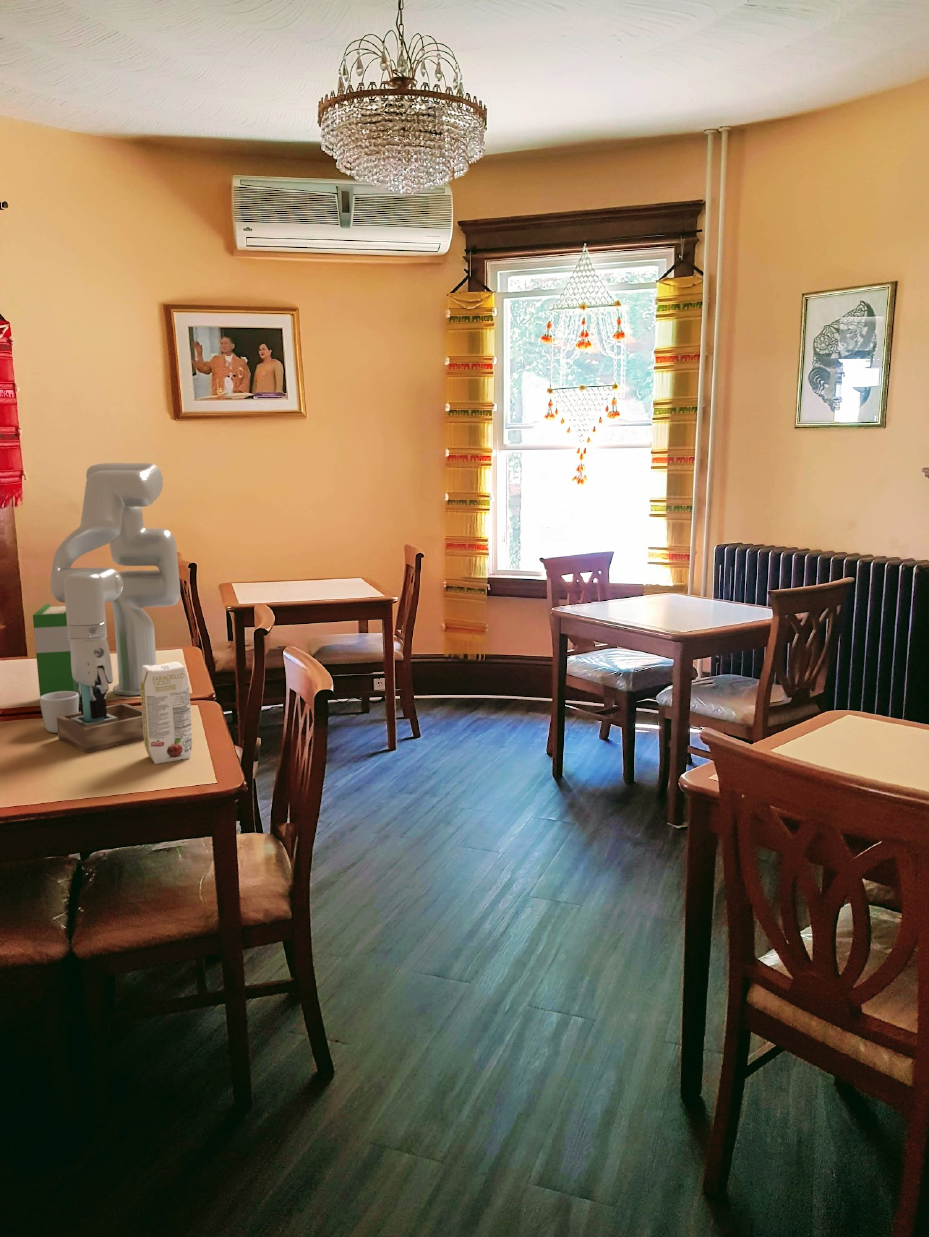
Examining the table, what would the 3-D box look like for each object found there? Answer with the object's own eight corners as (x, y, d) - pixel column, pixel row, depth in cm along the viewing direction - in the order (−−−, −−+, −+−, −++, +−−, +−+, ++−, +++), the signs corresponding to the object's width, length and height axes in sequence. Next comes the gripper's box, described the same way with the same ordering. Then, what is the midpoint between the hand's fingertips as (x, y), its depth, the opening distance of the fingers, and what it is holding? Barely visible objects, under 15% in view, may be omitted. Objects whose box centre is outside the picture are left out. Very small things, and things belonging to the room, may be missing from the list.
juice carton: (195, 758, 174) (190, 666, 171) (151, 766, 170) (145, 672, 167) (185, 748, 181) (180, 659, 177) (142, 756, 176) (136, 664, 173)
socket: (104, 729, 191) (102, 711, 190) (118, 735, 186) (117, 717, 186) (72, 736, 186) (70, 718, 185) (86, 743, 181) (85, 724, 181)
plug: (99, 723, 189) (96, 678, 187) (108, 727, 186) (104, 681, 184) (81, 727, 186) (77, 681, 184) (89, 731, 183) (85, 685, 181)
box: (125, 724, 198) (123, 702, 197) (155, 736, 189) (154, 714, 188) (58, 738, 187) (56, 716, 186) (87, 753, 178) (85, 729, 177)
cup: (31, 727, 196) (28, 693, 194) (67, 720, 201) (64, 687, 200) (51, 737, 188) (48, 702, 187) (87, 729, 194) (84, 695, 193)
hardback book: (53, 696, 223) (46, 604, 219) (85, 694, 225) (77, 602, 221) (41, 714, 206) (32, 615, 202) (75, 712, 208) (67, 613, 204)
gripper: (123, 633, 179) (129, 719, 183) (87, 624, 191) (93, 704, 194) (87, 639, 174) (94, 727, 177) (52, 628, 185) (59, 711, 188)
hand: (93, 714), depth 185 cm, fingers closed on plug, 4 cm apart
